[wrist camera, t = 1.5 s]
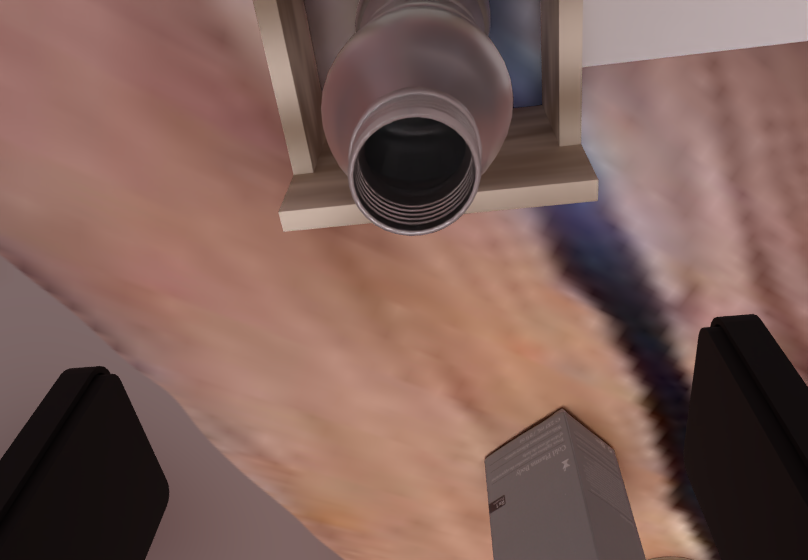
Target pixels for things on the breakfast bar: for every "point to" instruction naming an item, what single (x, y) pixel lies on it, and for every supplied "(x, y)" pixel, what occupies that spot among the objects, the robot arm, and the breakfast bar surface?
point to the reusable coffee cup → (670, 558)
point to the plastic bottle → (417, 110)
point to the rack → (503, 180)
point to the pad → (686, 27)
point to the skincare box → (559, 497)
